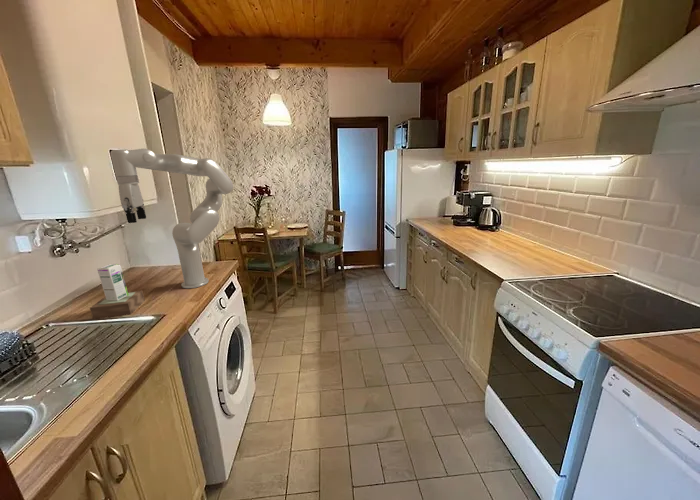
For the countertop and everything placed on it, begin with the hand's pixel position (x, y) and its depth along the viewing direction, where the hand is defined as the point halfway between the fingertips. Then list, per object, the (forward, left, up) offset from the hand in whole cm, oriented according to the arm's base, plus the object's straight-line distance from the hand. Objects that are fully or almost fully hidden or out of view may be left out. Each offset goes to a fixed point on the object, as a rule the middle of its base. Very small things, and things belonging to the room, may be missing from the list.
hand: (137, 220), depth 139 cm
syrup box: (+9, -11, -31) cm, 34 cm away
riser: (+9, -11, -36) cm, 39 cm away
